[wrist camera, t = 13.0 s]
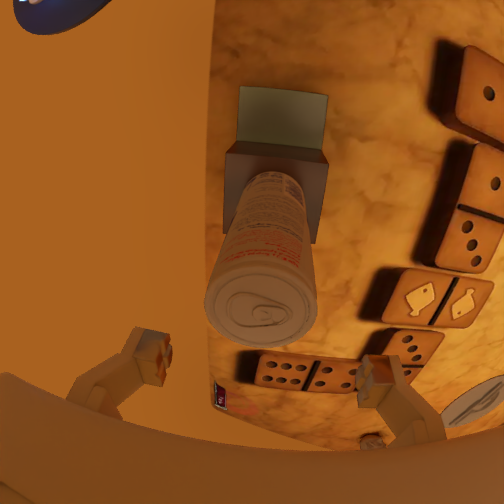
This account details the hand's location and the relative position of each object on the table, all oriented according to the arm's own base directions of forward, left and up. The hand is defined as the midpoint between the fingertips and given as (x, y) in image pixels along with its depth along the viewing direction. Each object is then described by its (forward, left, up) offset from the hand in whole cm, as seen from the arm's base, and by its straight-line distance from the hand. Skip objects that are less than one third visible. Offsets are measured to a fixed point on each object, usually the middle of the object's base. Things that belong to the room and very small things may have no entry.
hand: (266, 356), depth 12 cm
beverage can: (0, -1, -18) cm, 18 cm away
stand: (-2, +1, -29) cm, 29 cm away
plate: (+88, +16, -29) cm, 94 cm away
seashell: (+79, -18, -29) cm, 86 cm away
